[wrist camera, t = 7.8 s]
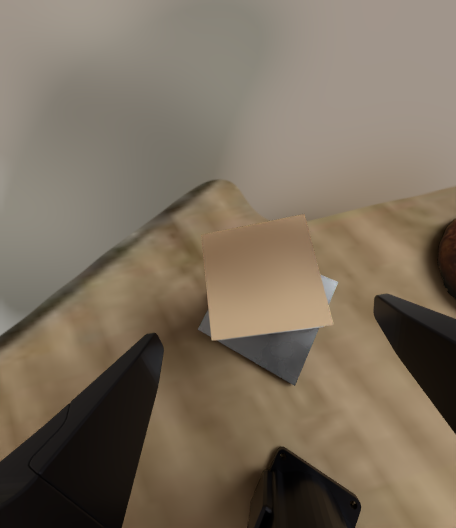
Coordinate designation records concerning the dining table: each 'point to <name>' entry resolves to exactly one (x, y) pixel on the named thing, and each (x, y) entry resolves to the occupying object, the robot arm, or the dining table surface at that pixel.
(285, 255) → the block
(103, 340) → the dining table surface
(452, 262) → the bread roll
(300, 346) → the steel plate
